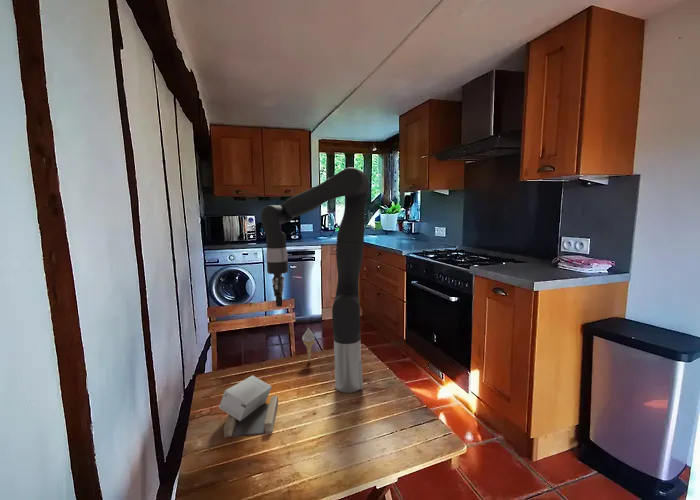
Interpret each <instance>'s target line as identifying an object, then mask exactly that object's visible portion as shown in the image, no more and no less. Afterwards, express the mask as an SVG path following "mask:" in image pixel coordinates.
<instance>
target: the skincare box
mask: <svg viewBox="0 0 700 500" xmlns="http://www.w3.org/2000/svg"><path fill="white" fill-rule="evenodd" d="M272 388H273V387H272V386H271V385H270V384H269V383H267V382H265V381H263V380H261V378H258V377H257V376H255V375H253V374H252V375H251V376H249V377H247V378H244V379H243V380H242V381H240V382H238V383H236V384H234V385H232V386H231V387H229V388H227V389H225V390H224V392H223V395H222V398H221V401H220V403H219V406H218V409H220V410H221V411H224V413H226V414H228V416H229V415H231V416H232V417H234V418H236V419H237V420H239V421H241V420H243V419H244V418H245V417H247V416H248V415H249V414H250V413H252V412H253V411H254V410H256V409H257V408H258V407H260V406H261V405H265V403H266V402H267V400H268V397H269V395H270V393H271V390H272Z"/></svg>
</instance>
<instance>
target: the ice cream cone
mask: <svg viewBox="0 0 700 500" xmlns="http://www.w3.org/2000/svg"><path fill="white" fill-rule="evenodd" d="M301 339H302V343H303V345H304V346H305V347H306V351H307V357H308V362H309V363H310V362H311V361H312V359H311V358H312V348H313V345H314V344H315V341H316V335H315V334H314V332H313V331H311V329H310V327H309V326H308V327H307V329H306V331H305V332H304V334H303V335H302V337H301Z"/></svg>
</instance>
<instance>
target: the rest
mask: <svg viewBox="0 0 700 500" xmlns="http://www.w3.org/2000/svg"><path fill="white" fill-rule="evenodd" d="M278 407H279V399H278V395H273V396H272V395H271V397H270V400H269V404H268V403H267V404H262V405H261V406H260V407H258V408H257V409H256V410H254V411H253V412H252V413H250V414H249V415H248V416H247V417H245V418H244V419H243V420H241V421H239V420H237V419H236V418H234V417H232V416H231V415H229V414H228V416H227V419H226V421H225V423H224V425H223V435H224V436H223V437H224V438H231V437H242V436H243V437H245V436H255V435H265V434H266V435H268V434H273V432H274V428H275V421H276V417H277V413H278Z"/></svg>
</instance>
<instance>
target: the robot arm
mask: <svg viewBox="0 0 700 500" xmlns="http://www.w3.org/2000/svg"><path fill="white" fill-rule="evenodd" d="M369 185H370V183H369V178H368V176H367V174H366V173H365V172H364V171H362V170H361V169H358V168H355V167H353V166H352V167H351V166H350V167H346V168H343V169H342V170H340V171H339V172H337V173H336V174H334V175H333V176H331V177H330V178H328V179H327V180H325V181H323V182H321V183H319V184H318V185H315V186H313V187H311V188H309V189H307V190H305V191H302V192H300V193H298V194H295V195H294V196H291V197H289V198H287V199H286V200H285V201H284V202H283V203H281V204H277V205H276V204H269V205H266V206H264V207H263V209H262V211H261V214H260V220H261V223H262V224H261V225H262V228H263V231H264V234H265V237H266V238H265V239H266V241H265V242H266V252H265V253H266V257H265V258H266V269H267V270H266V271H267V272H266V273H267V274H269V275H273V277H272V278H271V284H272V290H273V296H274V297H275V306H276V307H277V308H279V307H283V294H284V287H285V286H284V282H285V277H284V276H283V274H286V273H288V272H289V263H288V262H289V261H288V258H289V257H288V249H287V235H286V233H285V232H283V231H282V230H281V226H280V225H282V224H286V223H288V222H290V221H291V220H293V219H295V218H296V217H300V216H302V215H304V214H307V213H310V212H311V211H315V209H317V208H318V207H321V205H323V204H325V203H326V202H329V201H331V200H334V199H337V198H341V197H344V211H343V216H342V219H341V222H340V225H339V228H338V231H337V235H336V250H335V251H336V252H335V253H336V254H335V256H336V258H335V259H336V268H337V286H336V292H335V298H334V300H333V304H332V307H331V311H332V312H331V318H332V333H333V351H334V352H333V353H334V355H333V356H334V383H335V384H334V385H335V390H336V391H338V392H341V393H344V394H346V393H347V394H351V393H352V394H353V393H356V392H357V391H362V390H363V387H364V386H363V363H362V352H361V351H362V350H361V349H362V348H361V344H362V343H361V342H362V341H361V309H360V308H361V305H360V302H361V301H360V294H359V289H360V288H359V287H360V286H359V278H360V273H361V267H362V264H363V263H362V262H363V257H364V244H365V243H364V242H365V223H366V222H365V217H366V216H365V215H366V213H365V212H366V206H367V205H366V204H367V198H368V192H369Z"/></svg>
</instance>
